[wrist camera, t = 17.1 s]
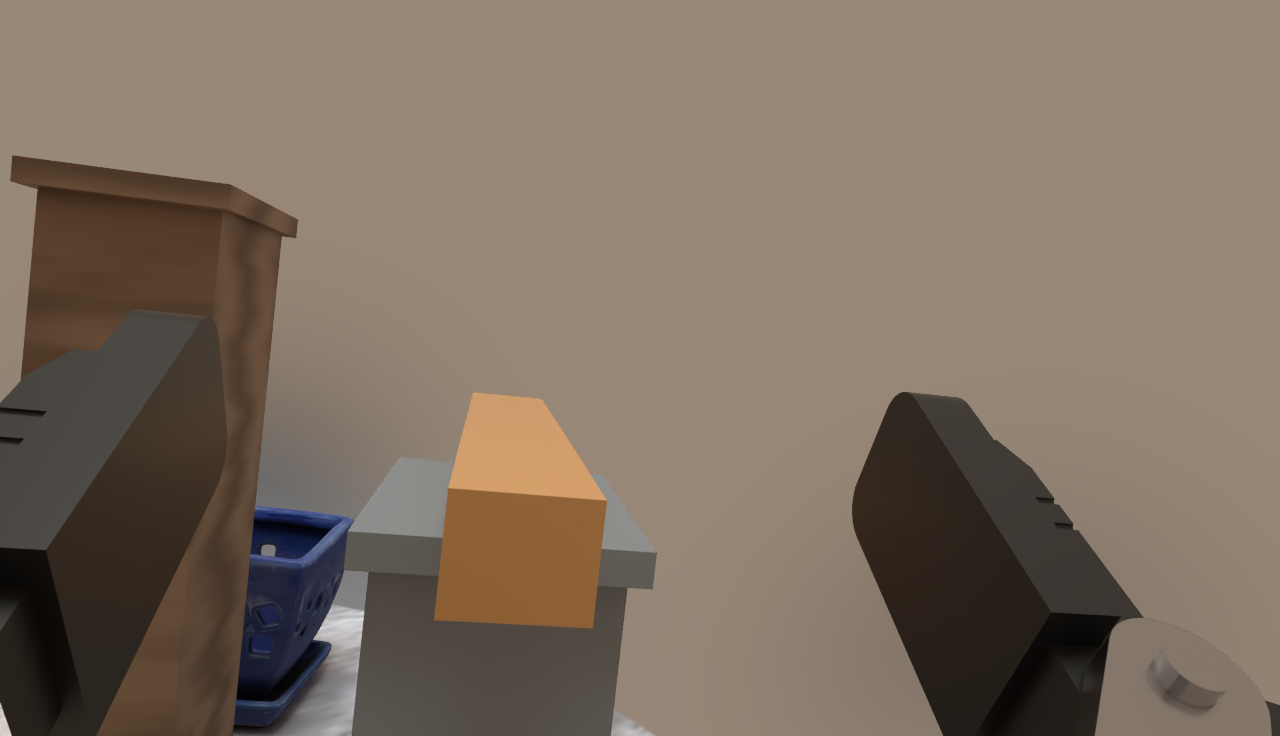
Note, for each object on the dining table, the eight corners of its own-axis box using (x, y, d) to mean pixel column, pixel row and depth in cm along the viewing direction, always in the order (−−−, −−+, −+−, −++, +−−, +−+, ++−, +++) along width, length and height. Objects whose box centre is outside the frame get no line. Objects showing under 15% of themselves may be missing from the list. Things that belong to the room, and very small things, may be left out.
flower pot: (346, 665, 66) (362, 513, 66) (288, 747, 53) (307, 558, 53) (170, 650, 65) (185, 496, 65) (66, 731, 52) (84, 538, 52)
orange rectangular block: (592, 628, 17) (607, 500, 16) (433, 620, 16) (448, 487, 16) (535, 454, 38) (541, 399, 38) (467, 448, 38) (473, 392, 38)
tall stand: (182, 949, 36) (256, 188, 35) (-85, 952, 34) (-16, 151, 33) (259, 794, 48) (316, 221, 47) (63, 790, 46) (118, 196, 45)
